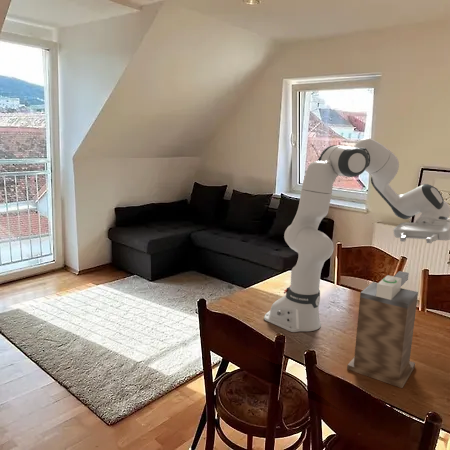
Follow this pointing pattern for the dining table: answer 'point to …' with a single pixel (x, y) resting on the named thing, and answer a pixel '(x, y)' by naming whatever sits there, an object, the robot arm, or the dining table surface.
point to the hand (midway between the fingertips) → (415, 240)
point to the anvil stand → (385, 336)
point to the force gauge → (391, 285)
